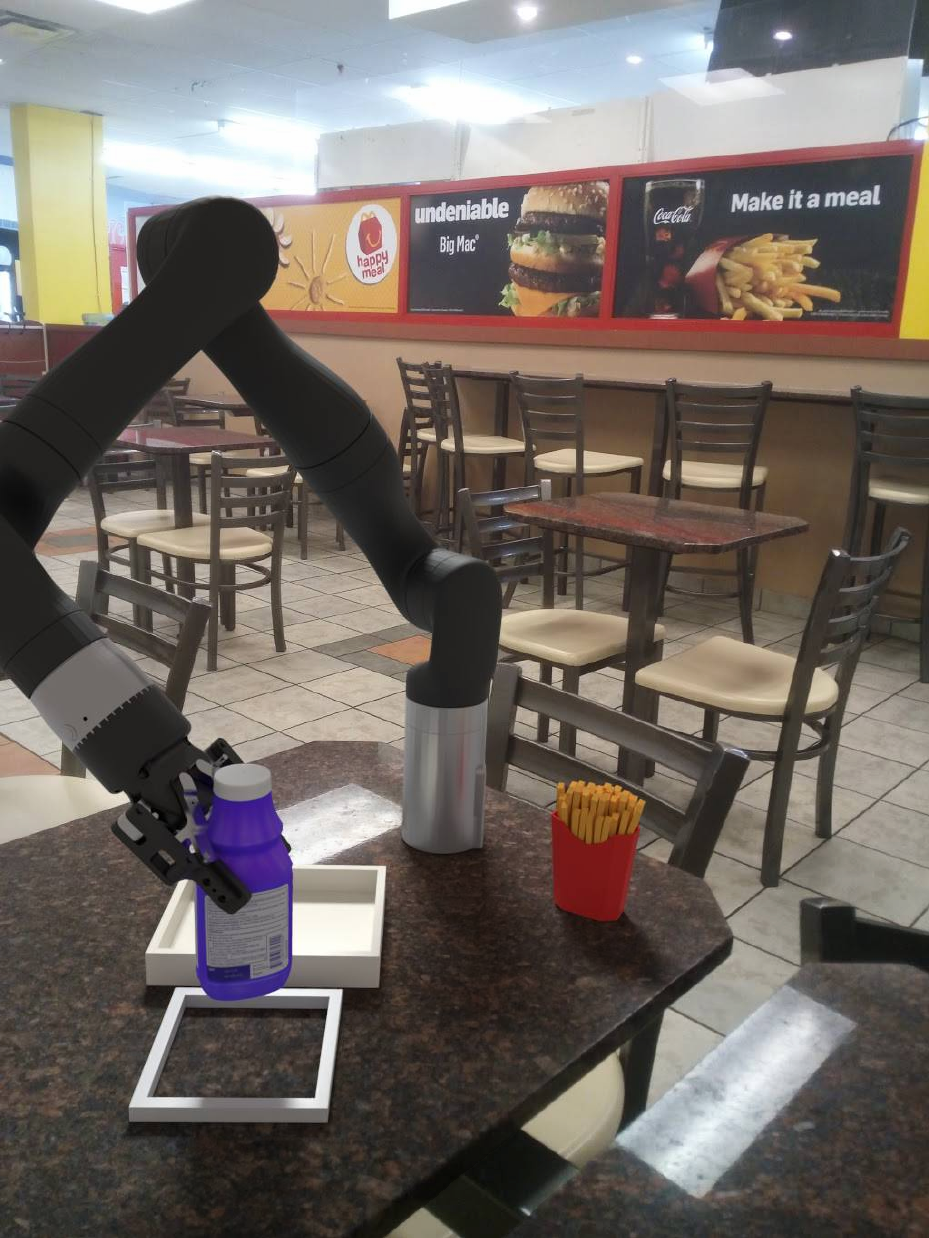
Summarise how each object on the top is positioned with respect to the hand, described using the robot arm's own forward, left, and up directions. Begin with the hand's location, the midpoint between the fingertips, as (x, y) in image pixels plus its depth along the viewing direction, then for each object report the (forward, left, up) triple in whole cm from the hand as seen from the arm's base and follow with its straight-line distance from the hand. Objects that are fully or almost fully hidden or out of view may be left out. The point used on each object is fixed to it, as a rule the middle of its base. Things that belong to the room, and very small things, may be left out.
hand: (263, 880), depth 74 cm
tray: (+2, -17, -15) cm, 23 cm away
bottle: (+1, -1, -9) cm, 9 cm away
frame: (+2, 0, -15) cm, 15 cm away
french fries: (-29, -23, -16) cm, 41 cm away
